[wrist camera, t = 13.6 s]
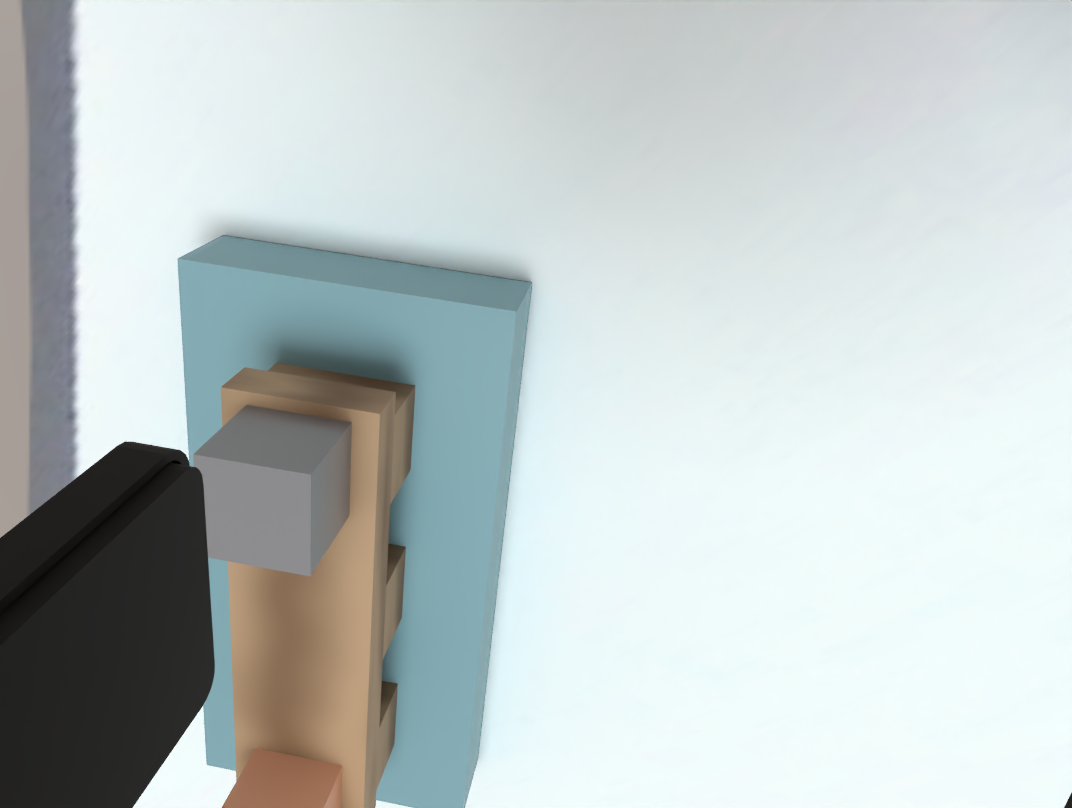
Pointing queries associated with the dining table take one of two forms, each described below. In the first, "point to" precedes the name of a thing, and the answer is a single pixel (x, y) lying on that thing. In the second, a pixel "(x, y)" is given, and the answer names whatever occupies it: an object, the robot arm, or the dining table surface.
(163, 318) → the dining table surface
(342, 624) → the pallet
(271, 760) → the pink cube
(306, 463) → the block
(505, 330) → the block
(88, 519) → the robot arm
